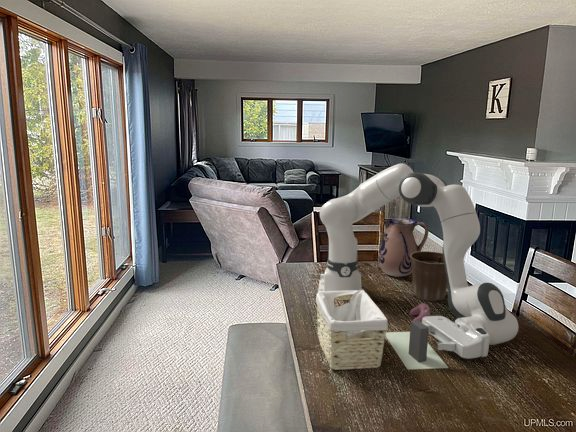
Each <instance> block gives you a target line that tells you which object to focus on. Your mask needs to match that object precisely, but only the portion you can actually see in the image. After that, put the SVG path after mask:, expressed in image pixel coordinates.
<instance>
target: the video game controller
mask: <svg viewBox="0 0 576 432" xmlns="http://www.w3.org/2000/svg"><path fill="white" fill-rule="evenodd" d="M430 310H431V309H430V306H429V304H427V303H423V302H421V303H419V304H418V305H417V306H415V307H413V308H412V309H411V310H410V312H409V315H410V316H416V317H414V319H412V321H420V322H421V323H422V319H423V318H424V317H426V316H431V312H430Z"/></svg>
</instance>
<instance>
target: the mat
mask: <svg viewBox="0 0 576 432" xmlns="http://www.w3.org/2000/svg"><path fill="white" fill-rule="evenodd" d="M385 338H386V339H387V341H388V342H389V344H390V345H391V346H392V348H393V350H394V351H395V353H396V354H397V356H398V358H399V359H400V360H401V362H402V363H403V365H404V366H405V368H406V369H407V370H429V369H430V370H431V369H449V366H448V365H447V364H446V362H444V361H443V359H442V358H441V357H440V356H439V354H438V353H437V352H436V351H435V349H434V348H432V346H431V345H430V344H429V343H428V345H427V358H426V361H424V362H417V361H416V360H415V359H414V358H413V357H412V356H411V355H409V340H410V331H393V332H392V331H389V332H387V331H386V336H385Z"/></svg>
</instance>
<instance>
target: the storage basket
mask: <svg viewBox="0 0 576 432" xmlns="http://www.w3.org/2000/svg"><path fill="white" fill-rule="evenodd" d="M335 301H349V302H346V303H343V304H342V305H340V306H336V305H335ZM315 302H316V305H317V306H316V308H317V309H316V316H317V317H316V318H317V320H316V323H317V326H316V327H317V337H318V340H319V341H318V342H319V344H320V346H321V350H322V351H323V353H324V355H325V359H326V360H327V363H328V366H329V368H330V369H331V370H336V371H339V370H341V371H343V370H344V371H345V370H354V369H355V370H356V369H358V370H359V369H360V370H362V369H372V368H374V369H375V368H379V367H381V365H382V359H383V353H384V345H385V338H386V332H387V331H388V327H389V325H388V318H387V317H386V316H385V314H384V312H382V310H381V309H380V308H379V306H378V305H377V304H376V303H375V302H374V301H373V300H372V298H371V297H370V295H369V294H368V293H367V292H366V291H363V290H350V291H321V292H318V291H317V293H316V297H315Z"/></svg>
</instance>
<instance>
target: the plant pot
mask: <svg viewBox="0 0 576 432" xmlns="http://www.w3.org/2000/svg"><path fill="white" fill-rule="evenodd" d="M410 257H411V265H412V273H411V274H412V295H413V296H414V297H416V298H417V299H419V300H422V301H426V302H437V301H440V302H441V301H443V300H444V299H445V298H446V292H447V288H448V283H447V277H446V271H445V265H444V259H443V252H439V251H428V250H427V251H422V250H421V251H420V252H414V253H412V254H411V255H410Z"/></svg>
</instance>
